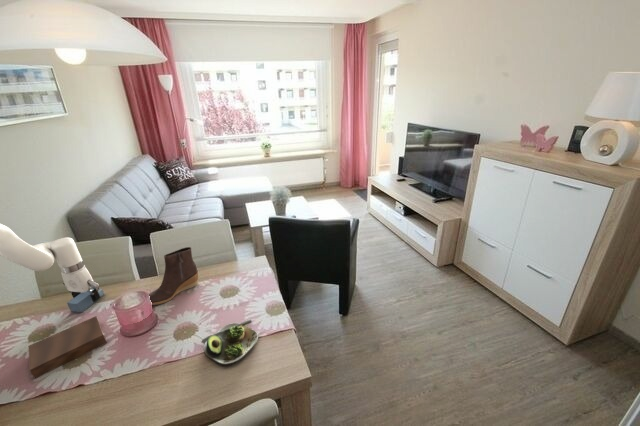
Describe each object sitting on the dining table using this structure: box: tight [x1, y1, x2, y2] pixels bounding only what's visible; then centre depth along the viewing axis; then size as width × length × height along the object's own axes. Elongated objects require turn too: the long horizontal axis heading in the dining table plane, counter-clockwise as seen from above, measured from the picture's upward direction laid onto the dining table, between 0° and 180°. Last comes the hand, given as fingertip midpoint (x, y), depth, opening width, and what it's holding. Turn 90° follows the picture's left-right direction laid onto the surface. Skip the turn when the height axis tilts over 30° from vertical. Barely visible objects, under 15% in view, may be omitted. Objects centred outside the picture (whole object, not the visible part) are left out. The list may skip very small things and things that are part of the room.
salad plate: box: [200, 319, 259, 367], centre depth 104 cm, size 19×18×5 cm
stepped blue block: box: [66, 288, 106, 314], centre depth 128 cm, size 12×5×5 cm, turn 169°
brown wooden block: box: [28, 315, 108, 379], centre depth 105 cm, size 20×14×4 cm
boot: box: [148, 246, 199, 306], centre depth 129 cm, size 9×24×20 cm, turn 134°
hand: (87, 299), depth 128 cm, fingers open, 9 cm apart
